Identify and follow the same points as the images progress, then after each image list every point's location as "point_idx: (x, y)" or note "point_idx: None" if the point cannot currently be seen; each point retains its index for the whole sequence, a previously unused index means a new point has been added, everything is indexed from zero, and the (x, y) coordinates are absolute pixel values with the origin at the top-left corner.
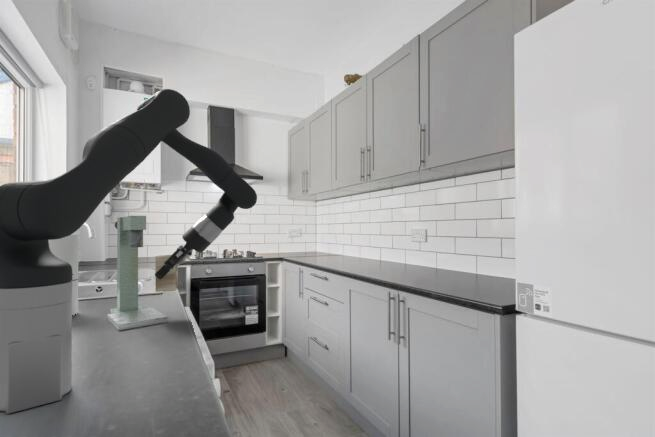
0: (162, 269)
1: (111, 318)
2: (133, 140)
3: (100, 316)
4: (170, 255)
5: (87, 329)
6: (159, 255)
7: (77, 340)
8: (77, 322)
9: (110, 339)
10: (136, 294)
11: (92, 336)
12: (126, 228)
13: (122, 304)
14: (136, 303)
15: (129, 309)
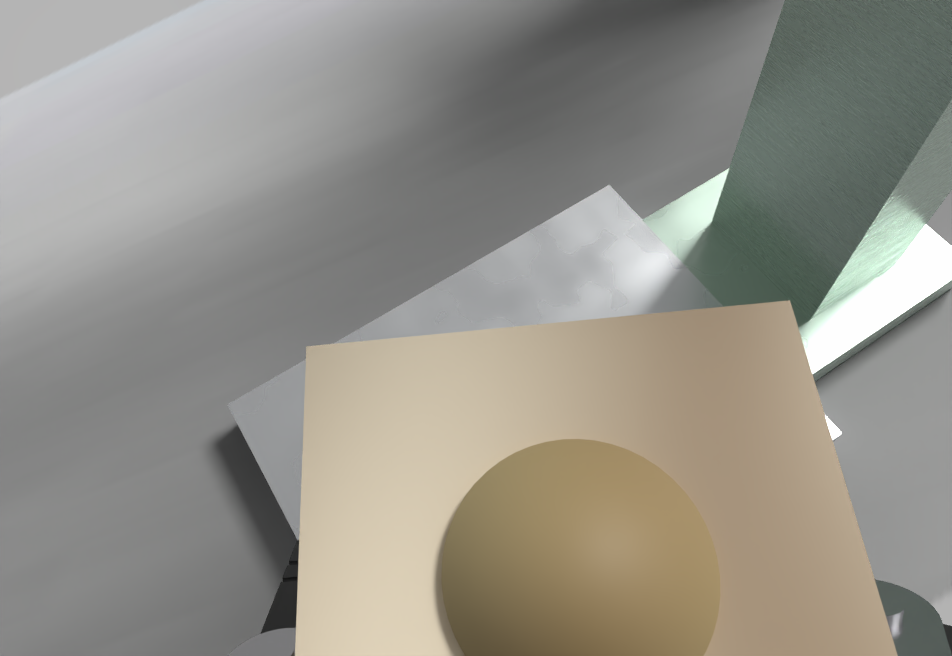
0: (272, 623)
1: (467, 267)
2: None
3: (714, 125)
4: None
5: (350, 214)
6: (714, 314)
7: (99, 280)
8: (558, 78)
9: (26, 464)
10: (847, 236)
11: (156, 320)
12: None
13: (738, 202)
14: (816, 285)
15: (761, 270)
